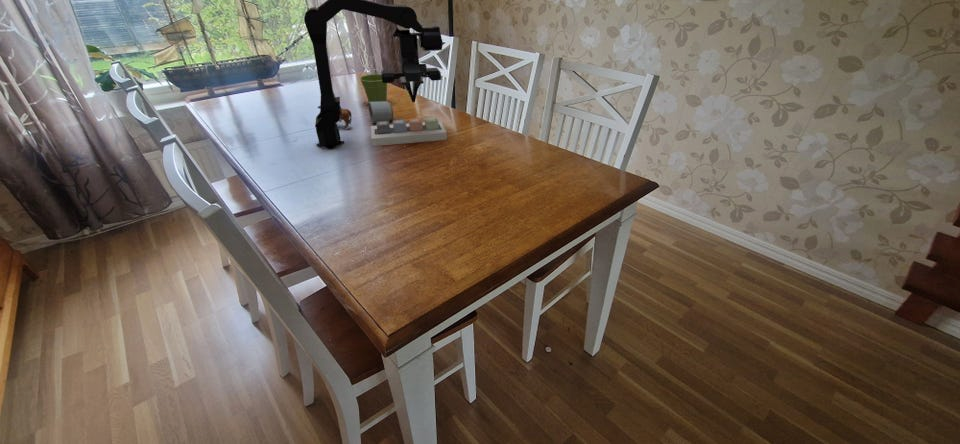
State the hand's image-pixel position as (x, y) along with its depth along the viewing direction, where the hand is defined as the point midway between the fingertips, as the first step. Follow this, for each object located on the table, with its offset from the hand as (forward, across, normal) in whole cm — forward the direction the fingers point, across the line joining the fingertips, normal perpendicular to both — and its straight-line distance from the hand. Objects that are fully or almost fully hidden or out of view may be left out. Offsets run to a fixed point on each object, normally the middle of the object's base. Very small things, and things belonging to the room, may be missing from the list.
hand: (413, 102), depth 126 cm
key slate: (+10, -5, 0) cm, 11 cm away
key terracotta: (+9, 0, 0) cm, 9 cm away
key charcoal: (+9, -11, 0) cm, 14 cm away
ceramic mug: (+12, -12, +20) cm, 26 cm away
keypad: (+12, -3, 0) cm, 12 cm away
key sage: (+10, +6, 0) cm, 11 cm away
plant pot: (+12, -12, +40) cm, 44 cm away
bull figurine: (+12, -28, +16) cm, 34 cm away
